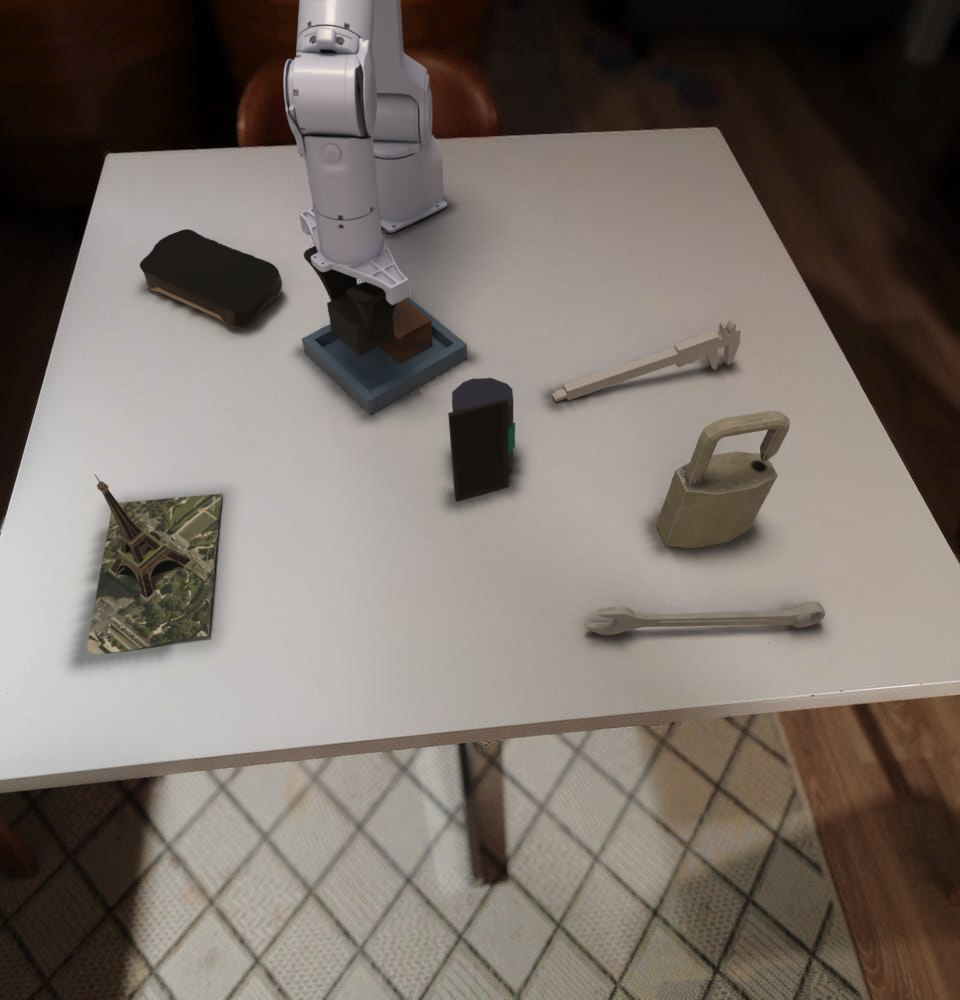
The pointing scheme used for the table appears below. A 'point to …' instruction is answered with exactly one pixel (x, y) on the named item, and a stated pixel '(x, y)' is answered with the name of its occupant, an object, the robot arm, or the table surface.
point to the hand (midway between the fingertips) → (362, 323)
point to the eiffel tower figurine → (155, 572)
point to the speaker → (481, 436)
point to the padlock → (721, 484)
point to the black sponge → (211, 277)
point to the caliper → (661, 361)
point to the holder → (383, 364)
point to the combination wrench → (705, 618)
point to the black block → (352, 325)
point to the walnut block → (409, 332)
